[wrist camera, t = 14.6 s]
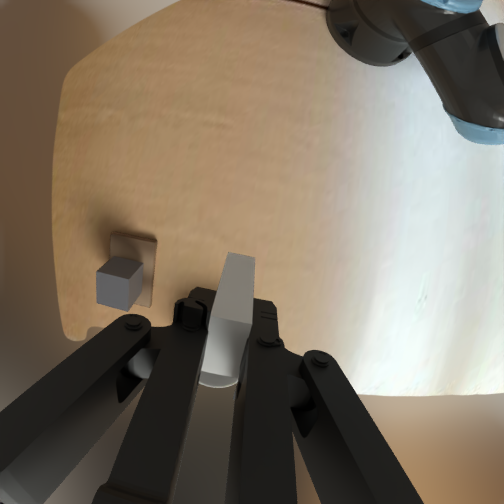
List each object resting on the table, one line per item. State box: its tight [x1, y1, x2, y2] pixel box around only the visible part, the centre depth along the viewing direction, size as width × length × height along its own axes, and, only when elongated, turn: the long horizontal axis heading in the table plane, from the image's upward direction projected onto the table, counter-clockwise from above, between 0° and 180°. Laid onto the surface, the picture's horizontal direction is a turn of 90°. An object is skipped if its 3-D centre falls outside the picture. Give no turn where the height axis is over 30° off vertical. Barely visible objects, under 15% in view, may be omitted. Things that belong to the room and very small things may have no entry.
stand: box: [110, 232, 157, 308], centre depth 46 cm, size 12×8×8 cm, turn 168°
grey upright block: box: [96, 256, 144, 312], centre depth 45 cm, size 5×5×7 cm
